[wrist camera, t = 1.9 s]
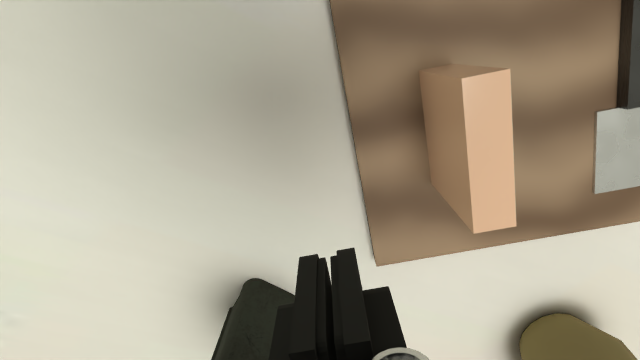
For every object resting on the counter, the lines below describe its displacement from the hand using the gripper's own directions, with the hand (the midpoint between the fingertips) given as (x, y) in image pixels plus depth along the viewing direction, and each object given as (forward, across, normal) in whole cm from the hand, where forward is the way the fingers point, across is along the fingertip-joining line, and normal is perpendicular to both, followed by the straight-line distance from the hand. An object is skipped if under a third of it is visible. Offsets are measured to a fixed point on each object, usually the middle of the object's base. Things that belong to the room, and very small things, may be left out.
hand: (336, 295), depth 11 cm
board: (+17, -13, -1) cm, 21 cm away
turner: (+16, -21, -2) cm, 26 cm away
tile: (+16, -8, -1) cm, 18 cm away
